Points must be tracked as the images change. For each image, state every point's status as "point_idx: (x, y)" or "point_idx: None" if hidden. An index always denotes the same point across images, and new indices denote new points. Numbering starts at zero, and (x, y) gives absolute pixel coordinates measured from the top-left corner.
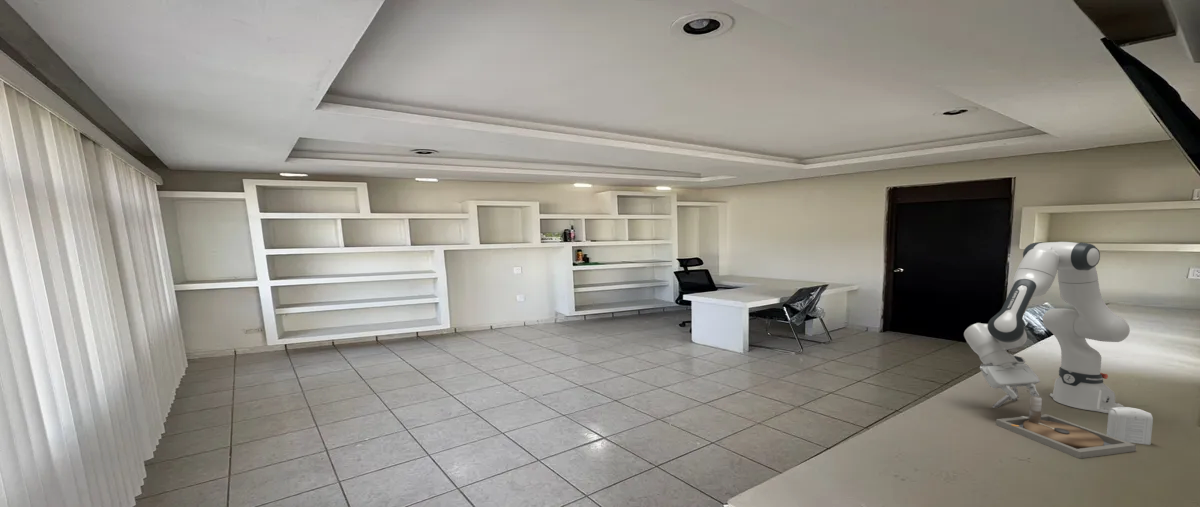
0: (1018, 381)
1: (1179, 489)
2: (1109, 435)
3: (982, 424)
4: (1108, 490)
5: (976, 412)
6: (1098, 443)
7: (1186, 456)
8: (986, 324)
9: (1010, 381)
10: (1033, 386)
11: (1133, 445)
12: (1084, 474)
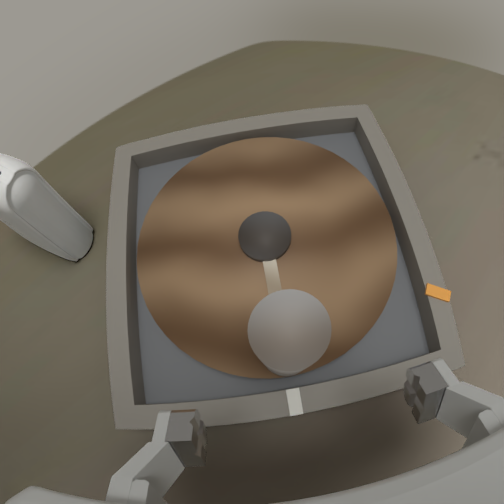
0: (361, 502)
1: (246, 54)
2: (80, 236)
3: None
4: (398, 59)
5: None
6: (226, 150)
7: None
8: None
9: (489, 457)
10: (137, 478)
11: (127, 144)
12: (398, 92)
